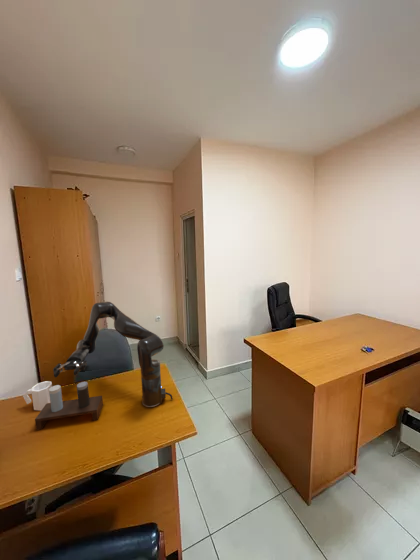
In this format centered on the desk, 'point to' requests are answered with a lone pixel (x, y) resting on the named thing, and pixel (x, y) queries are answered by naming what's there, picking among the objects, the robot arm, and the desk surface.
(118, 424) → the desk surface
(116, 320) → the robot arm
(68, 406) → the desk shelf
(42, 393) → the mug
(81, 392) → the dark shaker
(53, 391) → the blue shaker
